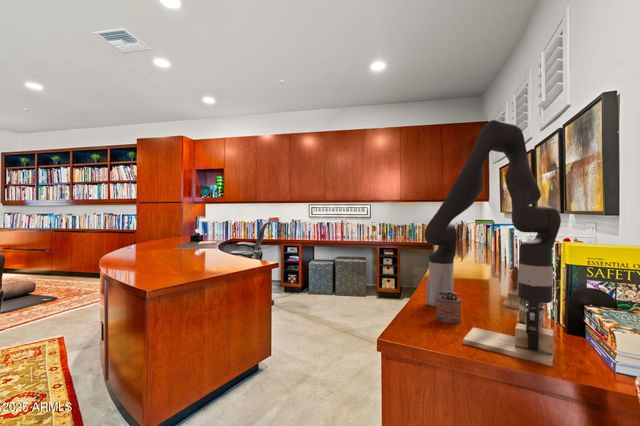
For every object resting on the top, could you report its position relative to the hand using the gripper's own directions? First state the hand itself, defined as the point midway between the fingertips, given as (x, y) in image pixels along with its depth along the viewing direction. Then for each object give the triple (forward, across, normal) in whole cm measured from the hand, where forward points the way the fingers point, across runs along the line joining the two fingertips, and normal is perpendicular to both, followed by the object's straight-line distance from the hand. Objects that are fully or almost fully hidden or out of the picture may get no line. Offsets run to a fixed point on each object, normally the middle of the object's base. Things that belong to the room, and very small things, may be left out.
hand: (534, 345), depth 81 cm
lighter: (+2, -11, -25) cm, 27 cm away
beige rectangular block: (+1, 0, 0) cm, 1 cm away
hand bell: (+2, -47, -10) cm, 48 cm away
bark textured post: (+2, -28, -3) cm, 28 cm away
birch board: (+2, 0, -6) cm, 6 cm away
